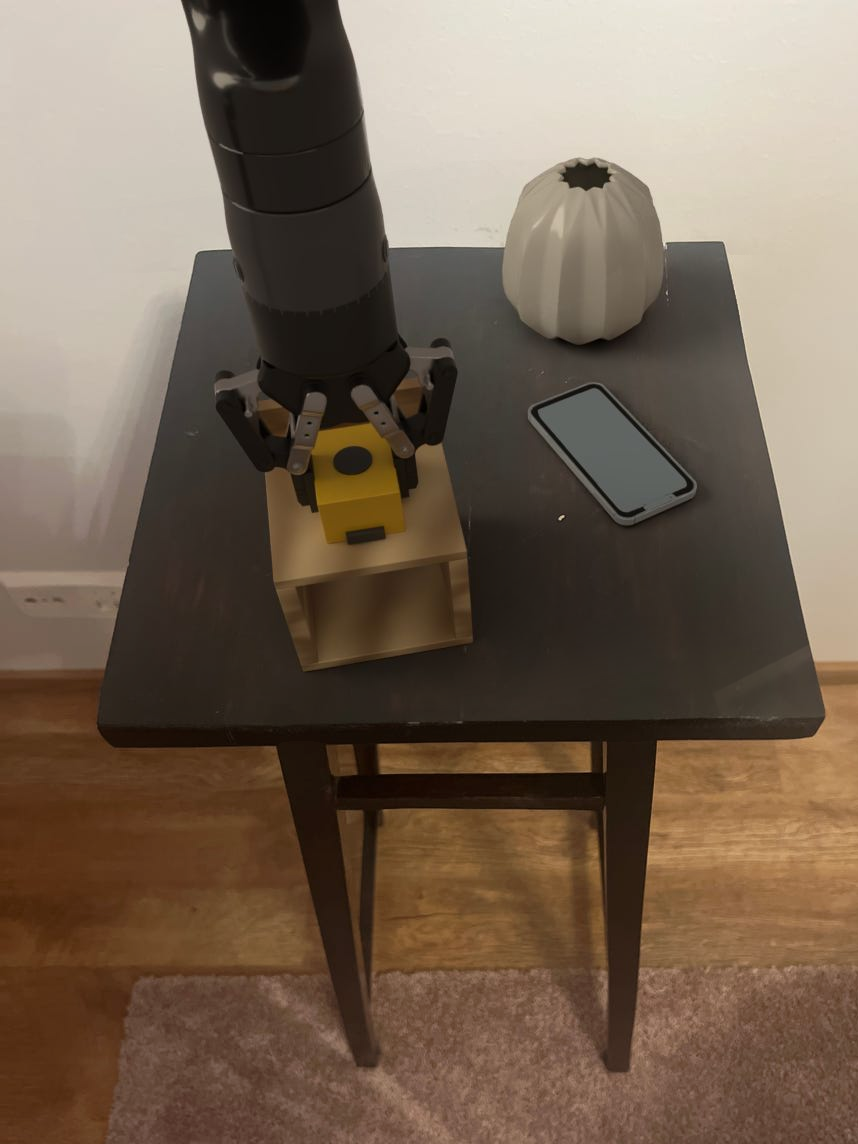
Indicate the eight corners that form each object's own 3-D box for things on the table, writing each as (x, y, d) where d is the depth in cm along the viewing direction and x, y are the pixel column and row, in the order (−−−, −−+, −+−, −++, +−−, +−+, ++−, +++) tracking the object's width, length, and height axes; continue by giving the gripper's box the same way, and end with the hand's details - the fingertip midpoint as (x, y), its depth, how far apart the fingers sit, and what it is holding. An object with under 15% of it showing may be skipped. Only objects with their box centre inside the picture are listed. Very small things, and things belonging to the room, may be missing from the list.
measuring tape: (327, 549, 61) (317, 508, 58) (318, 472, 65) (307, 430, 62) (406, 536, 61) (400, 494, 58) (392, 461, 65) (386, 418, 62)
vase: (531, 259, 94) (532, 119, 83) (672, 285, 91) (692, 144, 80) (482, 347, 87) (476, 206, 76) (633, 378, 84) (649, 236, 73)
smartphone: (598, 378, 83) (703, 488, 75) (597, 386, 84) (701, 495, 76) (522, 408, 81) (622, 523, 73) (522, 416, 82) (621, 531, 74)
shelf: (303, 672, 68) (259, 539, 56) (291, 543, 74) (249, 401, 63) (473, 643, 69) (463, 506, 57) (445, 518, 75) (432, 374, 64)
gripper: (442, 199, 51) (459, 439, 65) (168, 236, 50) (245, 472, 64) (467, 283, 47) (479, 521, 61) (168, 326, 46) (250, 558, 60)
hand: (359, 495), depth 63 cm, fingers closed on measuring tape, 5 cm apart
